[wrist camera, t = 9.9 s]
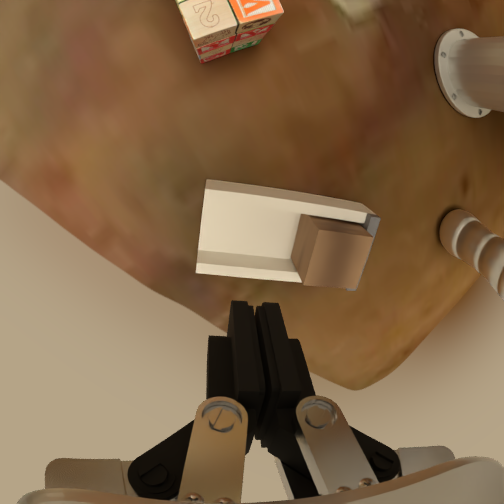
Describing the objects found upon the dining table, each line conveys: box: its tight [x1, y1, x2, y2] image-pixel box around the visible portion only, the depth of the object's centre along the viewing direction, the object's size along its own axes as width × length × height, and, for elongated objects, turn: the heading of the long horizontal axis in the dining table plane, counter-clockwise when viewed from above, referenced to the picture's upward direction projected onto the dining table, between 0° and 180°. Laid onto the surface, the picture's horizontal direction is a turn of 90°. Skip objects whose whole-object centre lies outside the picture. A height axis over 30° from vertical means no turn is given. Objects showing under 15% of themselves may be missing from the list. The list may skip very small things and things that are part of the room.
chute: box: [196, 179, 381, 291], centre depth 33 cm, size 18×9×5 cm, turn 80°
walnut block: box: [291, 214, 374, 289], centre depth 32 cm, size 6×6×6 cm
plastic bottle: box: [439, 209, 504, 300], centre depth 29 cm, size 6×7×20 cm
